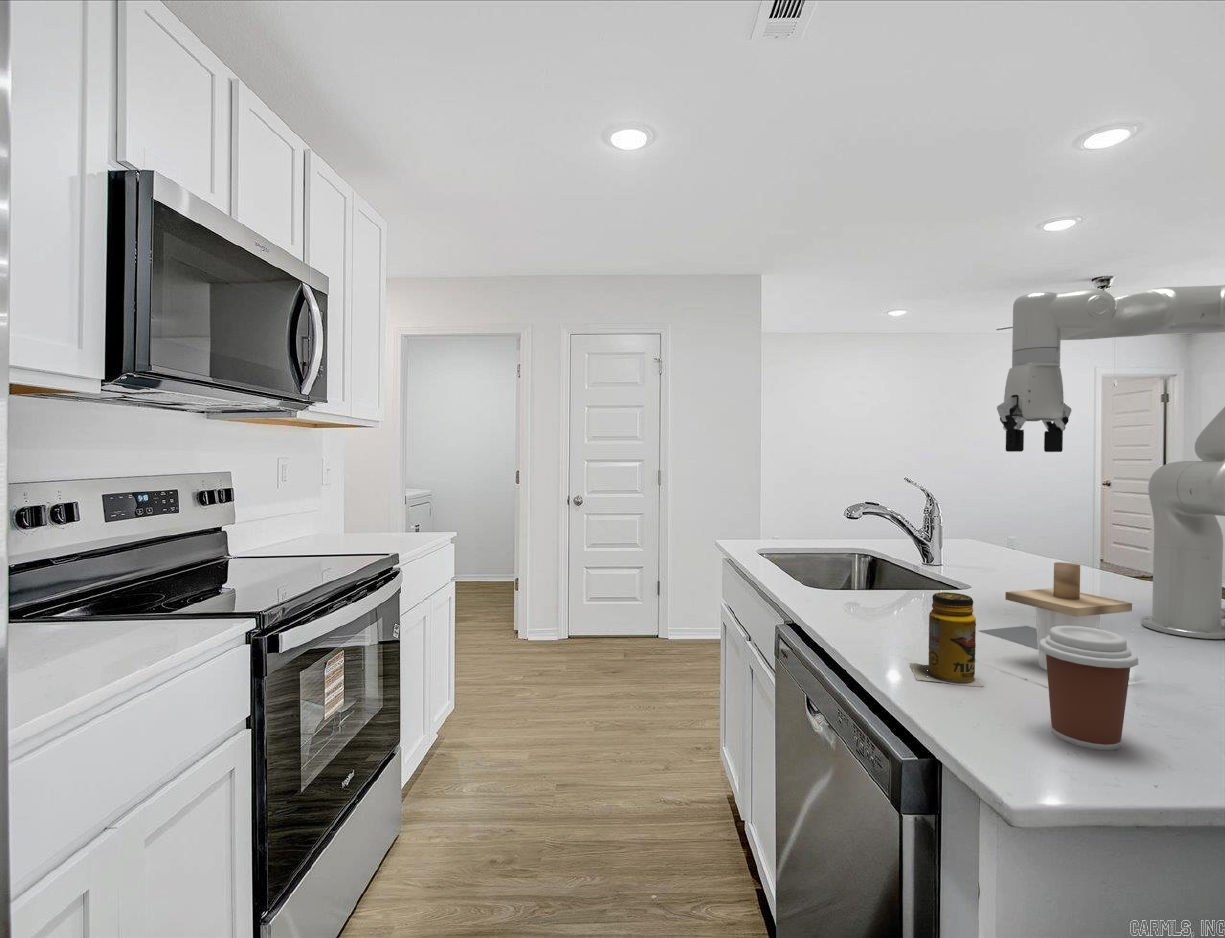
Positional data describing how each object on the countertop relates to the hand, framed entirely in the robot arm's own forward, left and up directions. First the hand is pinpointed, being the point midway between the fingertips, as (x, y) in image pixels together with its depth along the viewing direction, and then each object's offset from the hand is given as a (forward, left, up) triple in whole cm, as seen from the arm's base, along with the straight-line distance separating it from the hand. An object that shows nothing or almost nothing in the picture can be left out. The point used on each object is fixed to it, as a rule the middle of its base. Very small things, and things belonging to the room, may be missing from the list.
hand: (1034, 451), depth 118 cm
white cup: (+18, +20, -34) cm, 43 cm away
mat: (+7, +6, -33) cm, 35 cm away
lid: (+18, +20, -23) cm, 35 cm away
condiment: (+37, +16, -34) cm, 52 cm away
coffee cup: (+38, +37, -34) cm, 63 cm away
